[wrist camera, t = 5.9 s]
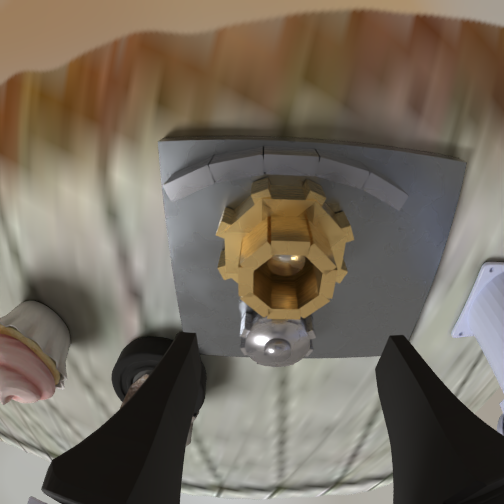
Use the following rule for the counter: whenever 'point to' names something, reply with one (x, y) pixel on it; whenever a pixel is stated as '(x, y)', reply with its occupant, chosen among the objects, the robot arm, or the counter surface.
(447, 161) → the carrier
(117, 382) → the caster wheel
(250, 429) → the counter surface
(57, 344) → the cupcake
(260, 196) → the planet gear
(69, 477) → the robot arm
